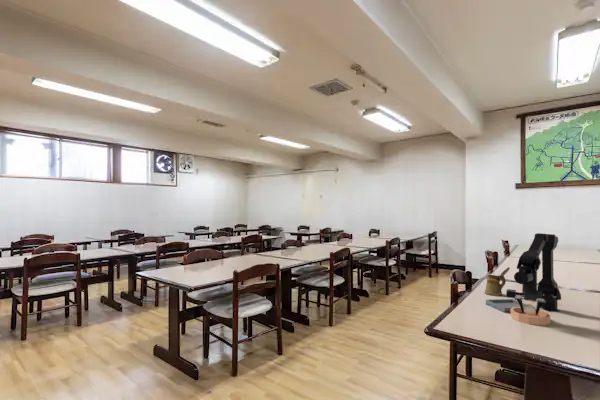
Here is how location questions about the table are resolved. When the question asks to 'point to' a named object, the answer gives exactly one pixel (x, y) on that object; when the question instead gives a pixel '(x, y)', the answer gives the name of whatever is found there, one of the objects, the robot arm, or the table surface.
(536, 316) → the bowl
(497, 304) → the tray
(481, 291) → the table surface
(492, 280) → the wooden mug
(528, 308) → the ball
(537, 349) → the table surface
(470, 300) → the table surface
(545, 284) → the robot arm
